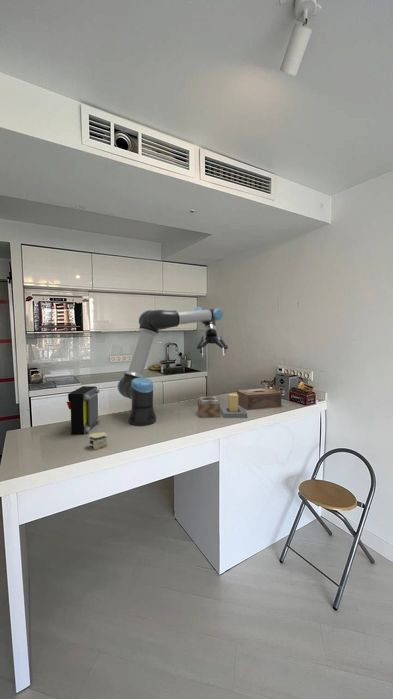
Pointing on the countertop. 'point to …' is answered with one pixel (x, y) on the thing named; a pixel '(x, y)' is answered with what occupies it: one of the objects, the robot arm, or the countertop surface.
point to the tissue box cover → (259, 398)
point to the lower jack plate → (233, 413)
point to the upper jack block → (208, 407)
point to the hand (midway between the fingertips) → (213, 356)
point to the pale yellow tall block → (233, 403)
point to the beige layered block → (98, 440)
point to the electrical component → (83, 409)
